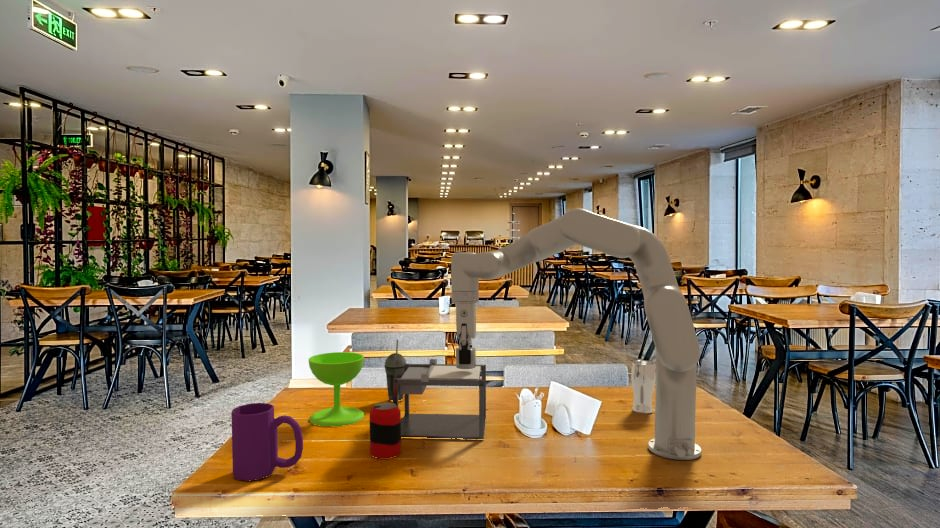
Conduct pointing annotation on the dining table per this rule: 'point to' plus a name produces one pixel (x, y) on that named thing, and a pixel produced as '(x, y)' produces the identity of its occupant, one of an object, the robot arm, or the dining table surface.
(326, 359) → the wineglass
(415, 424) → the frame
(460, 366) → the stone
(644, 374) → the beer glass
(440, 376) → the trapdoor
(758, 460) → the dining table surface
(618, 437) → the dining table surface
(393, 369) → the beverage cup
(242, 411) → the mug
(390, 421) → the soda can
